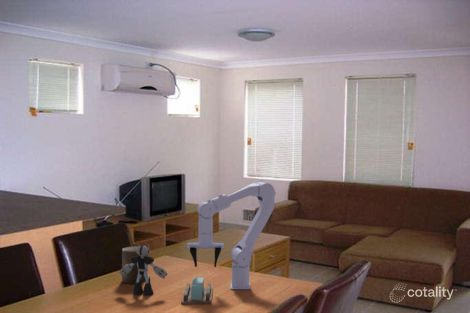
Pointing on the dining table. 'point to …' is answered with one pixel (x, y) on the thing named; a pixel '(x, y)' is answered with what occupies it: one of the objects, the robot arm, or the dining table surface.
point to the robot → (143, 270)
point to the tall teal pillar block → (197, 288)
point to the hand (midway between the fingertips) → (205, 266)
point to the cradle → (205, 300)
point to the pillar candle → (126, 259)
